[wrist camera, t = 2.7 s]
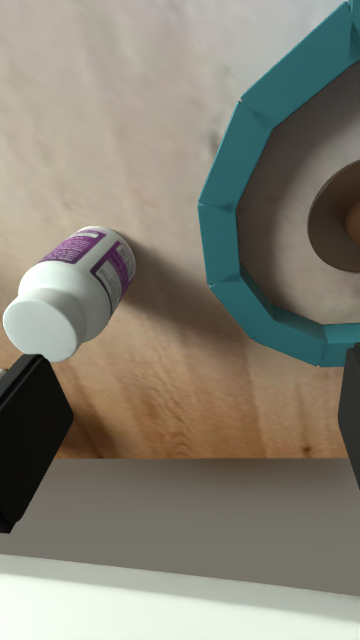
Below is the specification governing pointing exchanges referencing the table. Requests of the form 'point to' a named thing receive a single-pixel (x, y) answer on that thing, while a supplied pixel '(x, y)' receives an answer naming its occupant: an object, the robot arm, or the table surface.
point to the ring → (233, 176)
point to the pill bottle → (70, 294)
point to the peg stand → (338, 220)
